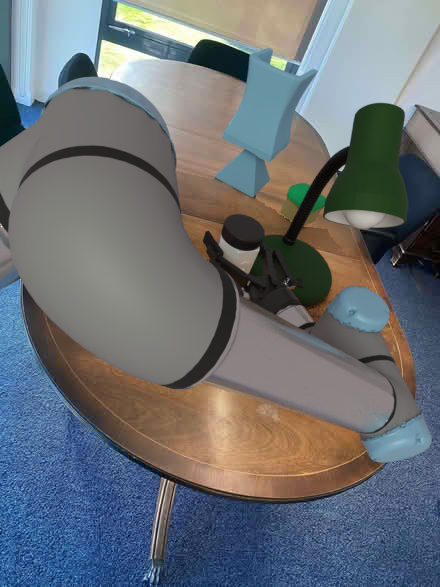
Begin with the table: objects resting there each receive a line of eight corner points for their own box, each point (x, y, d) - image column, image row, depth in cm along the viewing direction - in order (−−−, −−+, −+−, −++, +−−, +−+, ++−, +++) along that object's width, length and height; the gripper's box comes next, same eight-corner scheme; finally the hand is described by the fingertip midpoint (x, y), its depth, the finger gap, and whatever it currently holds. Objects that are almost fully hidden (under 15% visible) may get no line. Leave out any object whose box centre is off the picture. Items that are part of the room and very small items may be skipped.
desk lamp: (345, 341, 89) (496, 167, 57) (252, 329, 83) (361, 131, 52) (316, 251, 109) (415, 87, 77) (240, 237, 104) (313, 55, 72)
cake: (292, 202, 124) (306, 175, 117) (318, 221, 120) (333, 194, 113) (274, 209, 118) (287, 181, 111) (300, 230, 114) (315, 202, 107)
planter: (272, 181, 129) (318, 70, 104) (254, 200, 118) (301, 81, 94) (232, 160, 132) (268, 47, 107) (211, 177, 121) (245, 55, 96)
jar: (216, 288, 77) (233, 243, 69) (201, 259, 82) (215, 214, 73) (254, 282, 81) (274, 239, 73) (237, 255, 86) (255, 212, 77)
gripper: (226, 344, 65) (174, 253, 77) (319, 316, 76) (262, 241, 87) (239, 317, 60) (182, 224, 71) (338, 291, 70) (274, 214, 82)
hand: (226, 233), depth 79 cm, fingers closed on jar, 9 cm apart
